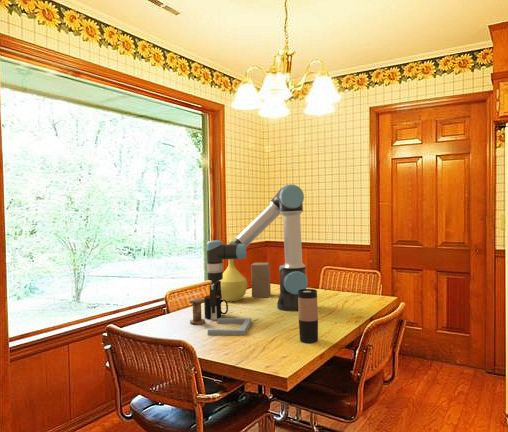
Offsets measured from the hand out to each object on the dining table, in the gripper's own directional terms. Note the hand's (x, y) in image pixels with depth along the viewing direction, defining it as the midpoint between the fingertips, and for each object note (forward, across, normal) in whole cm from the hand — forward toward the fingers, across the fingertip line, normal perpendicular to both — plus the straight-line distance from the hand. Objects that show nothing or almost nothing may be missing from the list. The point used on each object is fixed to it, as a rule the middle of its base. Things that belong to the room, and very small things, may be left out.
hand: (216, 316), depth 208 cm
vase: (0, -40, 0) cm, 40 cm away
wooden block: (0, -51, +16) cm, 54 cm away
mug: (0, 0, 0) cm, 0 cm away
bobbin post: (0, +10, -7) cm, 12 cm away
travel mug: (0, +35, +46) cm, 58 cm away
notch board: (0, +19, +11) cm, 22 cm away
